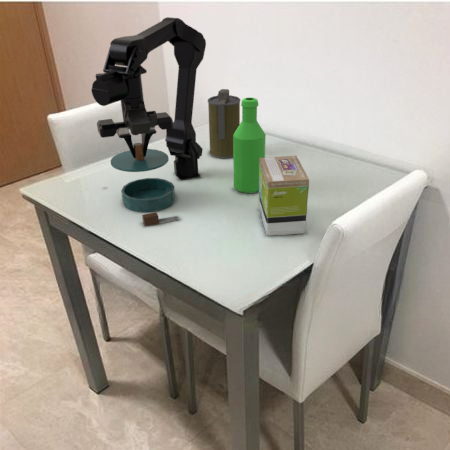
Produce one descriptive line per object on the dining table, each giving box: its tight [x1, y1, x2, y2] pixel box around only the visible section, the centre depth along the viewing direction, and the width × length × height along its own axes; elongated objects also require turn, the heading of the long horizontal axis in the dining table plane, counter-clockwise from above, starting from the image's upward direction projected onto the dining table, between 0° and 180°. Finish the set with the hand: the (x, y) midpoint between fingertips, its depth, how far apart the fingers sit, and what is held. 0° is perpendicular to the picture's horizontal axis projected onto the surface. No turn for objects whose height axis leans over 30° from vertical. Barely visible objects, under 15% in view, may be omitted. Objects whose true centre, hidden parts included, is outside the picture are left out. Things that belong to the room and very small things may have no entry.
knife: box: [141, 211, 179, 227], centre depth 128 cm, size 9×2×2 cm, turn 110°
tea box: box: [258, 155, 310, 237], centre depth 123 cm, size 15×10×15 cm, turn 5°
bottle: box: [232, 97, 266, 194], centre depth 137 cm, size 9×9×25 cm
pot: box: [120, 177, 176, 213], centre depth 138 cm, size 14×14×4 cm
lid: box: [110, 142, 170, 173], centre depth 131 cm, size 15×15×5 cm
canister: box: [207, 88, 241, 160], centre depth 161 cm, size 11×10×20 cm
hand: (139, 157), depth 132 cm, fingers closed on lid, 2 cm apart
